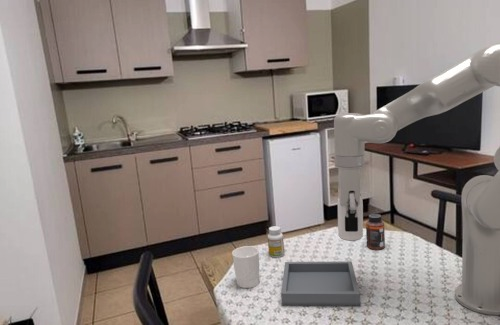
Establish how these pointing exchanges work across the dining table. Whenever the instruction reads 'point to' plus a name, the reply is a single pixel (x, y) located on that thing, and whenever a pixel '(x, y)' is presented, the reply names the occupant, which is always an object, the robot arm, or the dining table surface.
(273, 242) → the supplement bottle
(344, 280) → the tray
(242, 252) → the white cup
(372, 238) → the supplement bottle
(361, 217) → the can
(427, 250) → the dining table surface
